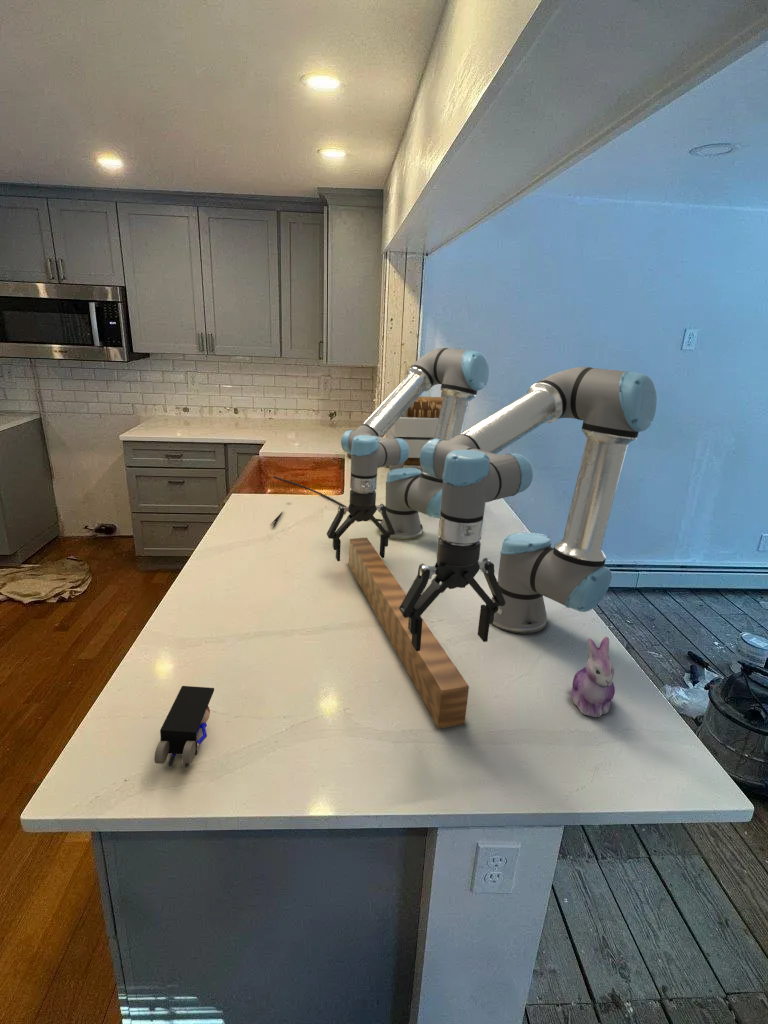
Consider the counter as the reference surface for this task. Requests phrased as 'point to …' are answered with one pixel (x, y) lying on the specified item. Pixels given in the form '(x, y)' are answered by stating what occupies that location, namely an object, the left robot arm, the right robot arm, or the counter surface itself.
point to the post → (410, 639)
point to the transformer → (417, 427)
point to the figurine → (594, 681)
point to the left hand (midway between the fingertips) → (360, 557)
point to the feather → (276, 520)
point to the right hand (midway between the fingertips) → (449, 642)
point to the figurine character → (184, 725)
